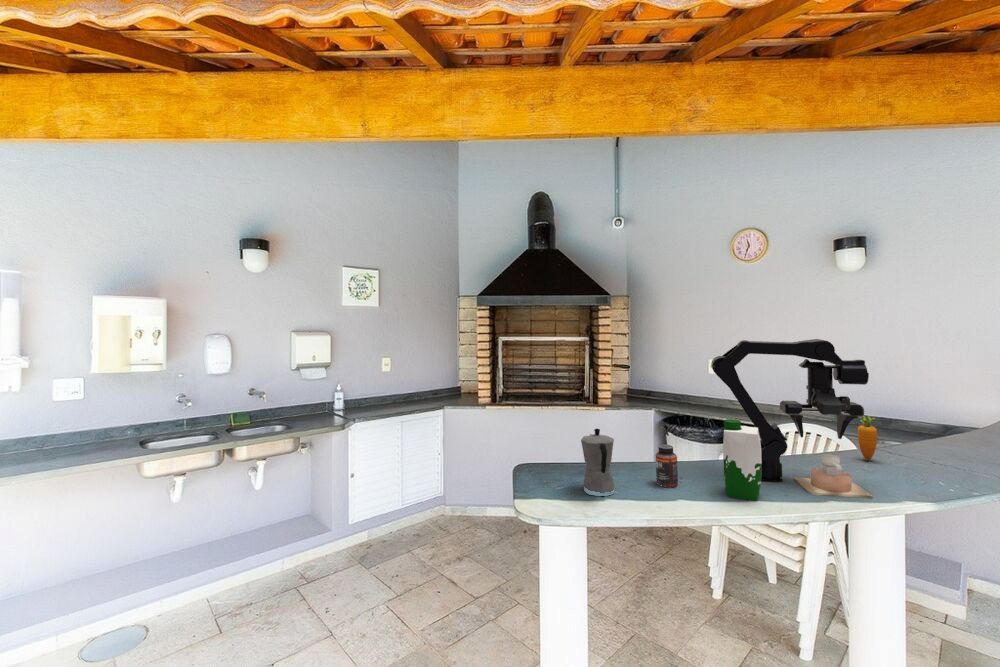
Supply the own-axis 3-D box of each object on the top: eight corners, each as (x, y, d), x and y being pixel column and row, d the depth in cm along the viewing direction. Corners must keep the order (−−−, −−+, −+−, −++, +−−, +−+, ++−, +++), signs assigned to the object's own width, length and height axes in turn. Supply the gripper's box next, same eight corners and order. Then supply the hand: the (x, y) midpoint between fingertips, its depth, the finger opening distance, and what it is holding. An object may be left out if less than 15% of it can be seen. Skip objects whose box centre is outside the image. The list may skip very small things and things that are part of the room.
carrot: (881, 463, 136) (881, 416, 136) (863, 463, 137) (863, 416, 137) (871, 458, 141) (870, 413, 140) (854, 458, 142) (853, 413, 141)
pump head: (830, 479, 115) (830, 461, 115) (818, 470, 122) (818, 453, 121) (848, 480, 114) (848, 462, 114) (835, 470, 121) (835, 454, 120)
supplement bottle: (678, 481, 128) (677, 444, 128) (677, 489, 123) (676, 450, 122) (657, 479, 131) (656, 442, 130) (655, 486, 125) (654, 448, 125)
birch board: (810, 494, 116) (810, 492, 116) (794, 479, 126) (793, 477, 126) (872, 498, 112) (872, 495, 112) (850, 482, 123) (850, 480, 123)
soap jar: (819, 491, 116) (819, 469, 116) (805, 479, 125) (804, 459, 125) (858, 493, 114) (858, 471, 114) (841, 480, 122) (841, 460, 122)
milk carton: (725, 485, 124) (724, 416, 123) (762, 491, 119) (761, 419, 118) (722, 496, 116) (721, 423, 116) (762, 503, 112) (760, 427, 111)
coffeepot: (578, 482, 131) (576, 423, 130) (609, 481, 130) (608, 422, 130) (588, 504, 115) (586, 437, 115) (623, 503, 115) (622, 436, 114)
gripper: (792, 387, 118) (792, 444, 118) (874, 388, 112) (875, 448, 113) (778, 381, 128) (779, 433, 129) (853, 382, 123) (854, 436, 123)
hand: (820, 437), depth 123 cm, fingers open, 9 cm apart
